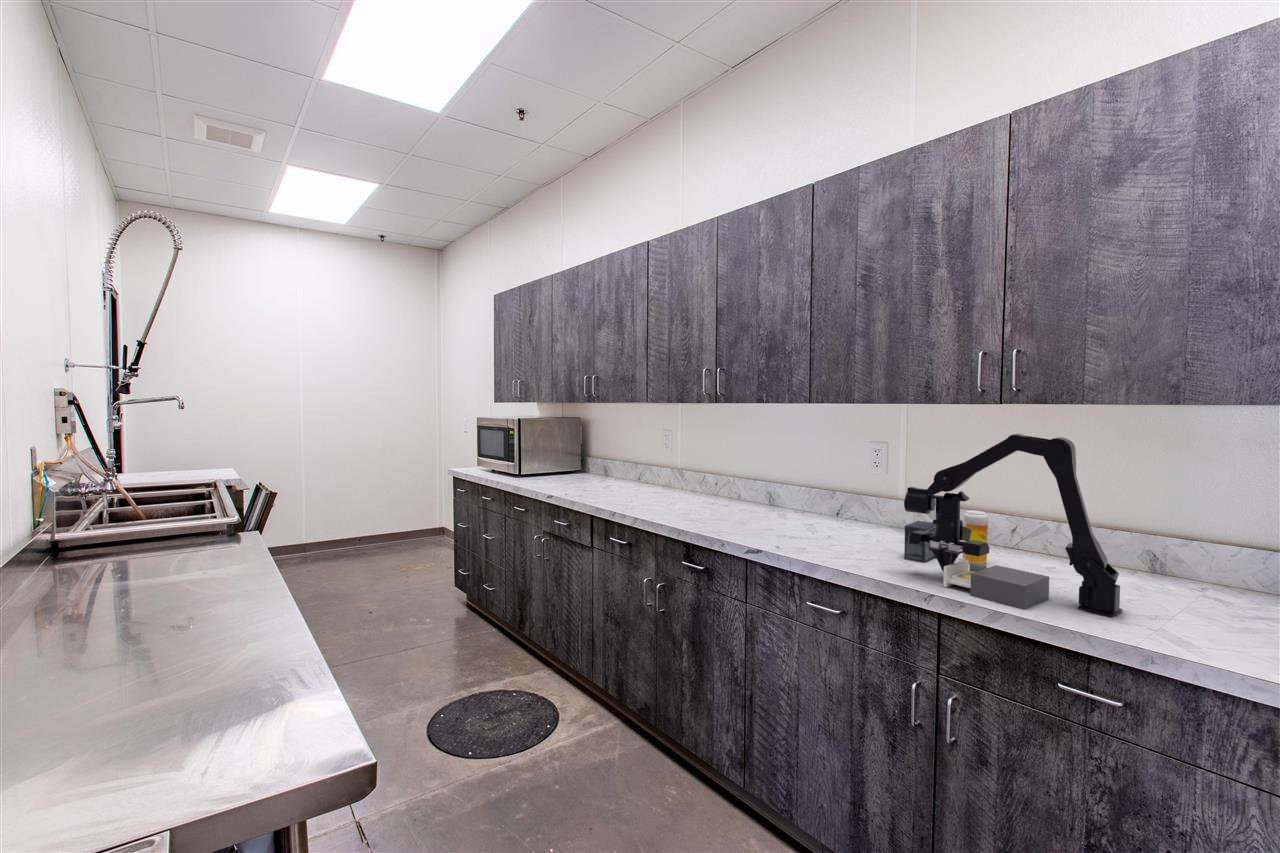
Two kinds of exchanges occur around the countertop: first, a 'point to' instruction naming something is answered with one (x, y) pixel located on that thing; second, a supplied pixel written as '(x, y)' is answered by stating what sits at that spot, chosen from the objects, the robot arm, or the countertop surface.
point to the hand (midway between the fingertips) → (946, 574)
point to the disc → (967, 575)
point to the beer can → (976, 532)
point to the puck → (977, 567)
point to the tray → (956, 574)
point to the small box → (918, 550)
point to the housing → (1010, 586)
